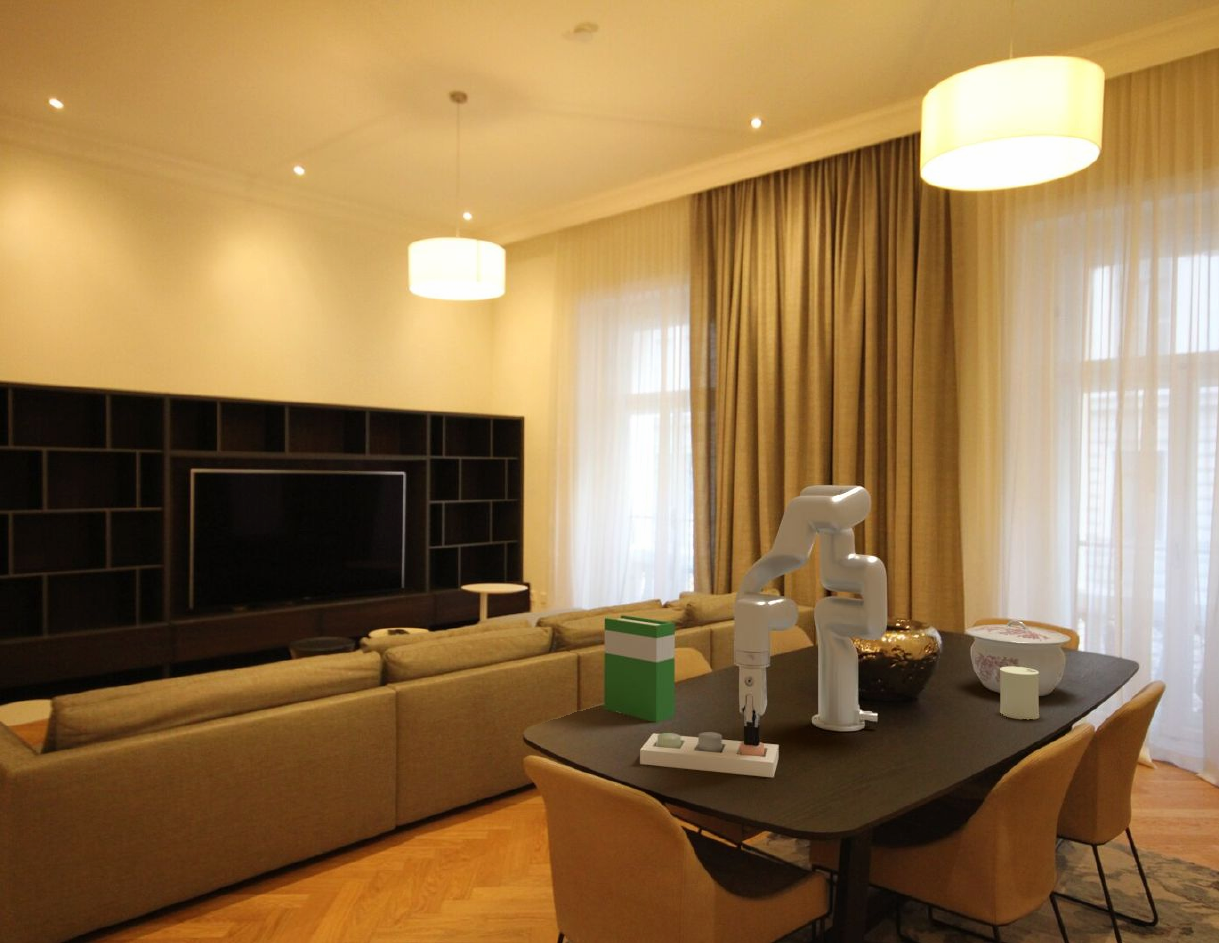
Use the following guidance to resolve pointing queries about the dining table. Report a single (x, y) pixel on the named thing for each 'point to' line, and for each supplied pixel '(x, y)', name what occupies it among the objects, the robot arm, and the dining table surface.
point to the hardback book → (640, 667)
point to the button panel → (710, 757)
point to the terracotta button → (752, 750)
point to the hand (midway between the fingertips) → (751, 744)
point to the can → (1019, 692)
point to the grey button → (710, 742)
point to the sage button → (669, 740)
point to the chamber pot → (1017, 653)
